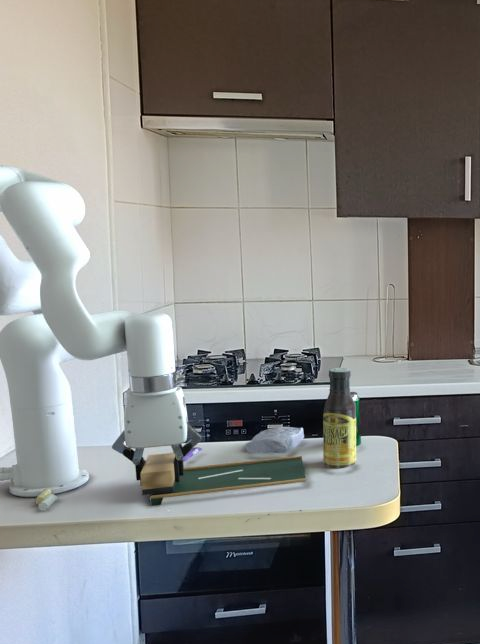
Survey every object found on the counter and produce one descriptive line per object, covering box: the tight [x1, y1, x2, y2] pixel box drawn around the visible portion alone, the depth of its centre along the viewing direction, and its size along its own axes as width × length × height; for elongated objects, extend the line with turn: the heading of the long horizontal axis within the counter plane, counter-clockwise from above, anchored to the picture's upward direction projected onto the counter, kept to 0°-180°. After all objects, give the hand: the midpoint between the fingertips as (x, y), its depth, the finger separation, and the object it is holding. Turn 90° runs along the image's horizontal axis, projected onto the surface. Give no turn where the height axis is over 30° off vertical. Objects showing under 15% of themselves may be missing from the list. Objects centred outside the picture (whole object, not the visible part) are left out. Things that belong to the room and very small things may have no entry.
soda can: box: [350, 391, 362, 447], centre depth 157 cm, size 5×5×12 cm
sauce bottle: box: [322, 367, 357, 469], centre depth 144 cm, size 6×6×20 cm
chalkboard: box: [149, 455, 308, 506], centre depth 139 cm, size 26×14×2 cm, turn 108°
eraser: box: [140, 452, 176, 496], centre depth 135 cm, size 5×10×4 cm, turn 18°
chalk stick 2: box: [37, 494, 57, 512], centre depth 128 cm, size 2×4×2 cm
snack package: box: [172, 446, 203, 463], centre depth 151 cm, size 12×2×5 cm
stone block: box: [245, 426, 305, 454], centre depth 158 cm, size 12×5×10 cm
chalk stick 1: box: [34, 489, 51, 505], centre depth 131 cm, size 2×4×2 cm
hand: (160, 480), depth 135 cm, fingers closed on eraser, 5 cm apart
